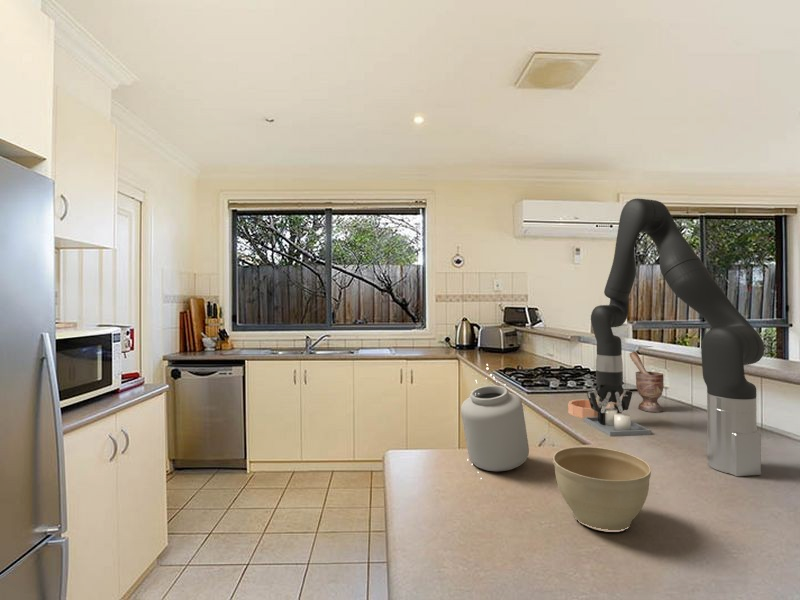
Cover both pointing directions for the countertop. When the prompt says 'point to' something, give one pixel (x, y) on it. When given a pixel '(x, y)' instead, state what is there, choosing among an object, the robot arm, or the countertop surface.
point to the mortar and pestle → (648, 386)
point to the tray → (610, 431)
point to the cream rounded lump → (610, 416)
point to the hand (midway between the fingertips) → (609, 423)
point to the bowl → (582, 408)
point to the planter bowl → (602, 485)
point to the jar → (495, 428)
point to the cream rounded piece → (622, 422)
